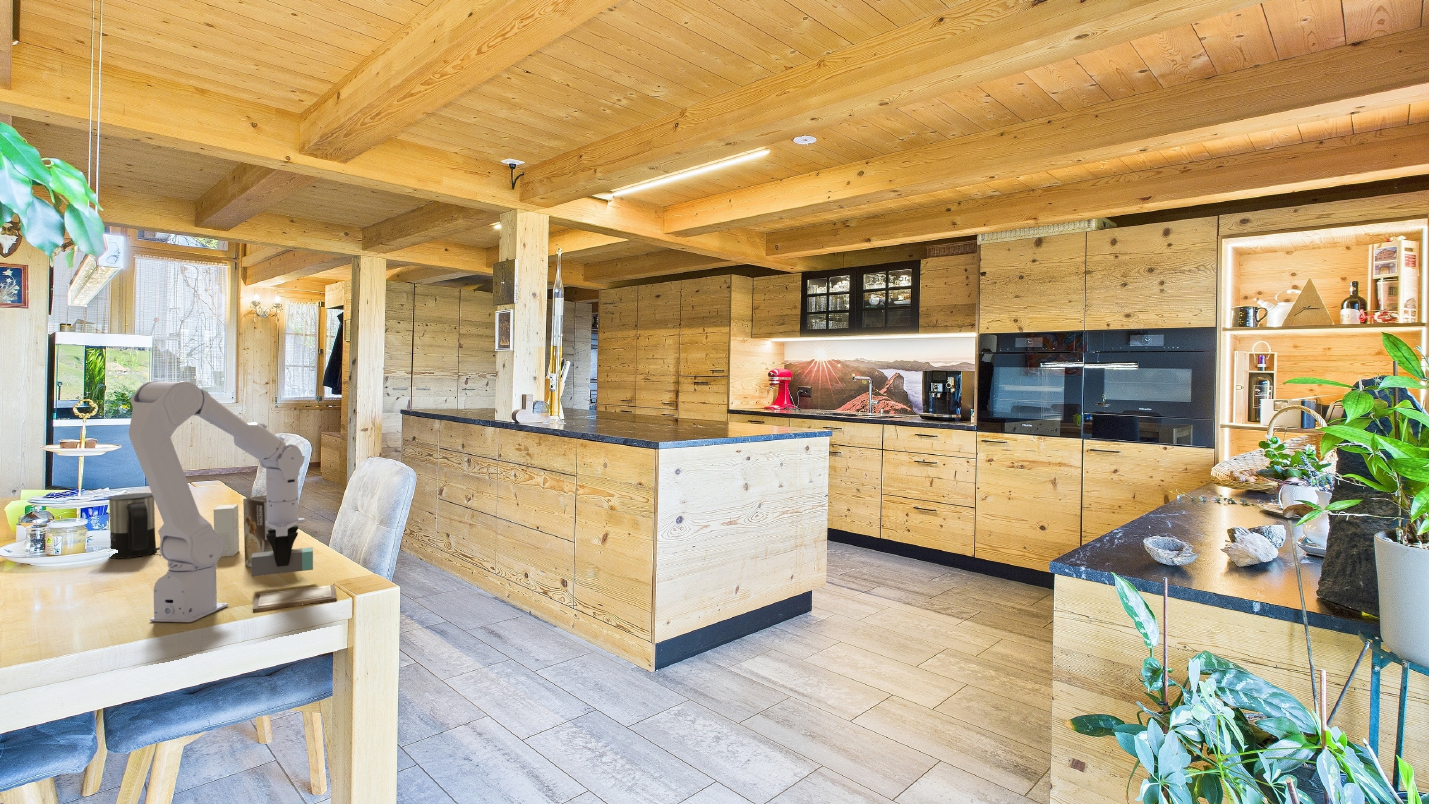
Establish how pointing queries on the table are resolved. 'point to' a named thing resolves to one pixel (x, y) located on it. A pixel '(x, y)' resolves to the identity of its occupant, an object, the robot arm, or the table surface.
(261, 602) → the wooden tray
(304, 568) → the gray teal block
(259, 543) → the coffee box
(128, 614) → the table surface
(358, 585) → the table surface
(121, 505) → the milk frother
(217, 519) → the skincare box
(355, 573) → the table surface
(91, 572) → the table surface
